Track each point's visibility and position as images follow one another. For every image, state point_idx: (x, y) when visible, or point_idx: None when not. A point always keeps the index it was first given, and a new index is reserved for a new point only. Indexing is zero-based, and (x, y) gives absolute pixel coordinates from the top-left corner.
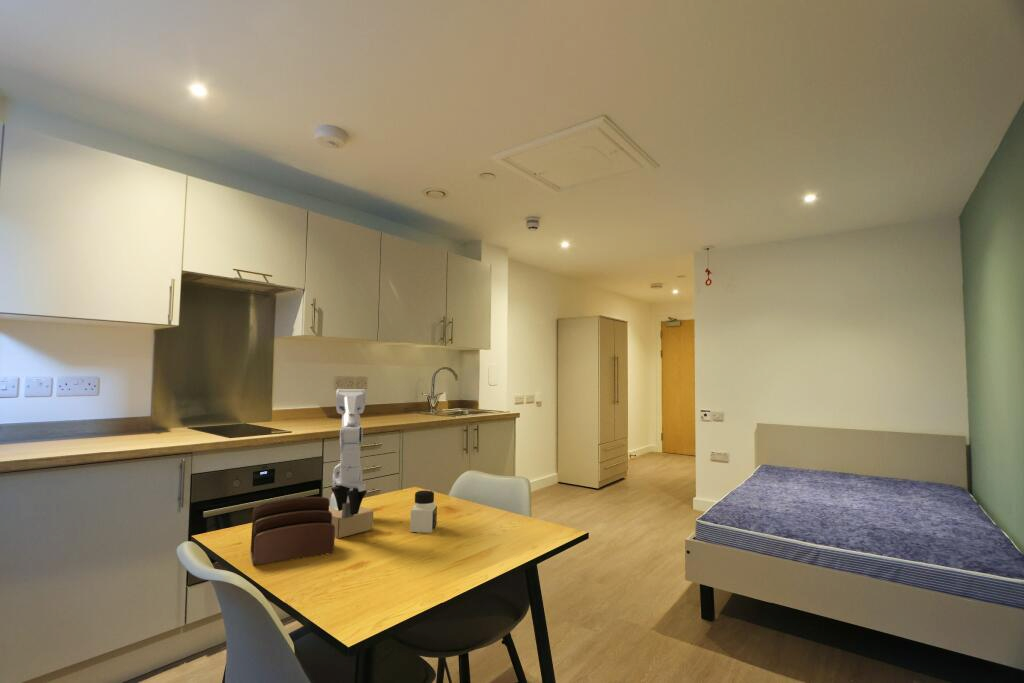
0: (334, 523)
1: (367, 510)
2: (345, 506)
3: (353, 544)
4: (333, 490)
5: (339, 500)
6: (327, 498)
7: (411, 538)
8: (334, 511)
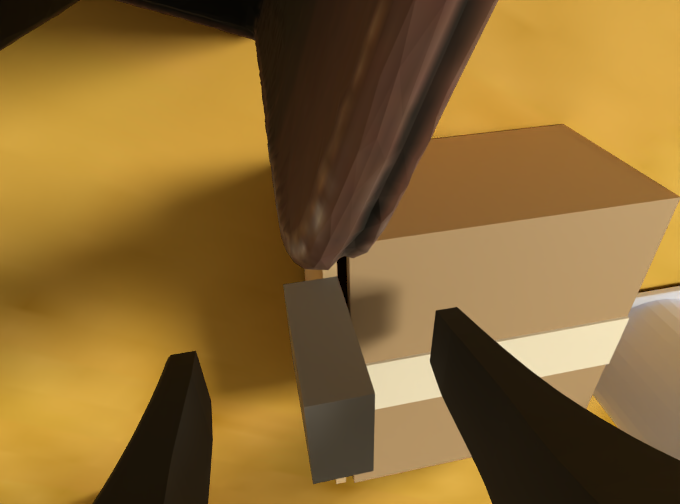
0: None
1: (377, 461)
2: (301, 388)
3: (81, 185)
4: (675, 499)
5: (494, 404)
6: (314, 255)
7: (13, 465)
8: (572, 291)
